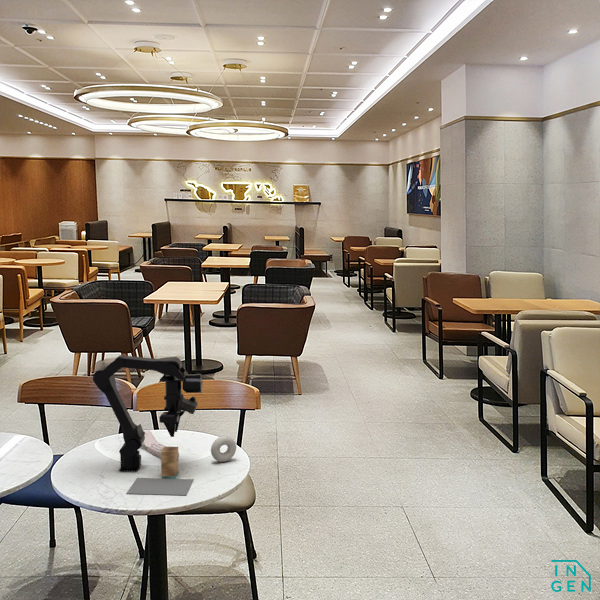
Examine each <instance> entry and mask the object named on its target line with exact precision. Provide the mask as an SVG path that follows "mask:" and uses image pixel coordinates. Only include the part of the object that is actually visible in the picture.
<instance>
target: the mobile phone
mask: <svg viewBox="0 0 600 600" xmlns="http://www.w3.org/2000/svg"><path fill="white" fill-rule="evenodd" d="M143 431H144V432H145V440H144V442H143V444H144V446H145V447H146V451H147V452H148V453H150V454H152V455H154V456H155V457H156V458H159V459H161V451H162V449H163V448H164V446H165V447H168V446H167V445H165V444H163V443H160V442H158V440H157V439H156V437H155V436H154V434H153V432H152V431H151V430H150V429H148V430H143ZM179 458H180V453H179V451H178V459H179Z"/></svg>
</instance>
